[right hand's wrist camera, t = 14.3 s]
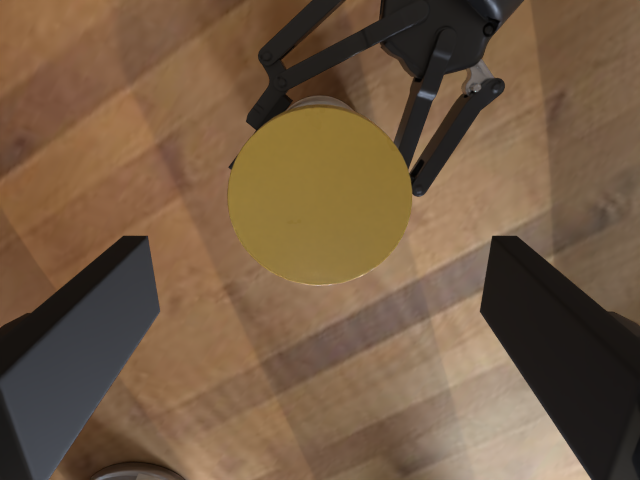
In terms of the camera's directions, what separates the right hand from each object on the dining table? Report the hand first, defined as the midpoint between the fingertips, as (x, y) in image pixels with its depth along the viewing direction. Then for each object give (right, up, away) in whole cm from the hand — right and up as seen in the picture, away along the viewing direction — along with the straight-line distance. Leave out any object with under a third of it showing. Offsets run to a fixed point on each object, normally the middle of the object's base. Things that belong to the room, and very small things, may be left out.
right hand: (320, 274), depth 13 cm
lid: (0, +3, +8) cm, 8 cm away
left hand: (-3, +4, +20) cm, 21 cm away
